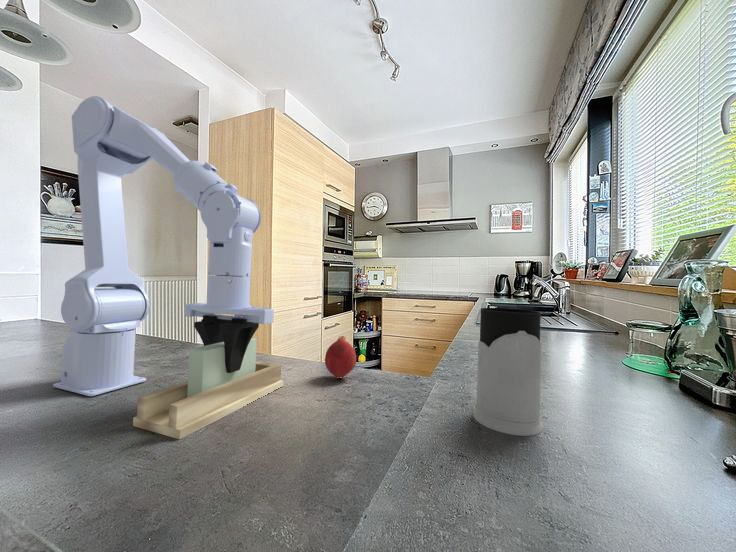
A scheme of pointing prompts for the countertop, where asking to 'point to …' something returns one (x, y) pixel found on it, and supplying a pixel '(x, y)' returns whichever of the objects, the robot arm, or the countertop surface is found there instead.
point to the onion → (340, 358)
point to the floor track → (203, 402)
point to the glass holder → (509, 371)
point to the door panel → (216, 367)
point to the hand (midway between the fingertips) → (225, 369)
